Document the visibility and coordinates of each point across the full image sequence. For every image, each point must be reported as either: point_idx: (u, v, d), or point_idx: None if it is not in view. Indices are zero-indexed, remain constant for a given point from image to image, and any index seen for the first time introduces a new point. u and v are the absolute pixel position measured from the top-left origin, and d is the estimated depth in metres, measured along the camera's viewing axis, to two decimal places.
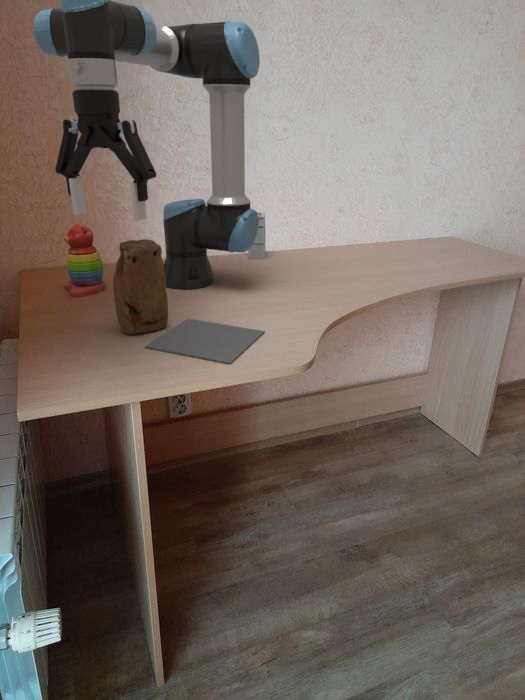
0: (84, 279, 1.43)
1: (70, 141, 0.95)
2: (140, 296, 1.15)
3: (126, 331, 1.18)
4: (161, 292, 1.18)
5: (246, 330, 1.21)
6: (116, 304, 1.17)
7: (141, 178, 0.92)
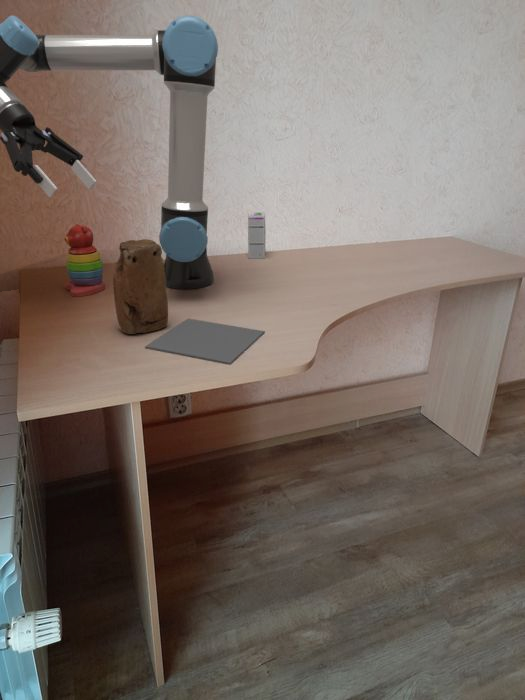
0: (84, 279, 1.43)
1: None
2: (140, 296, 1.15)
3: (126, 331, 1.18)
4: (161, 292, 1.18)
5: (246, 330, 1.21)
6: (116, 304, 1.17)
7: None
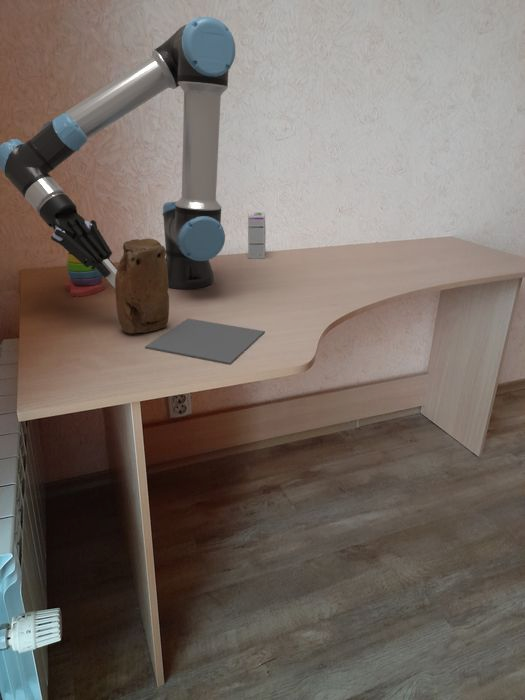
0: (84, 279, 1.43)
1: (91, 236, 1.22)
2: (142, 297, 1.14)
3: (126, 330, 1.18)
4: (163, 293, 1.17)
5: (246, 330, 1.21)
6: (117, 303, 1.17)
7: (94, 266, 1.18)
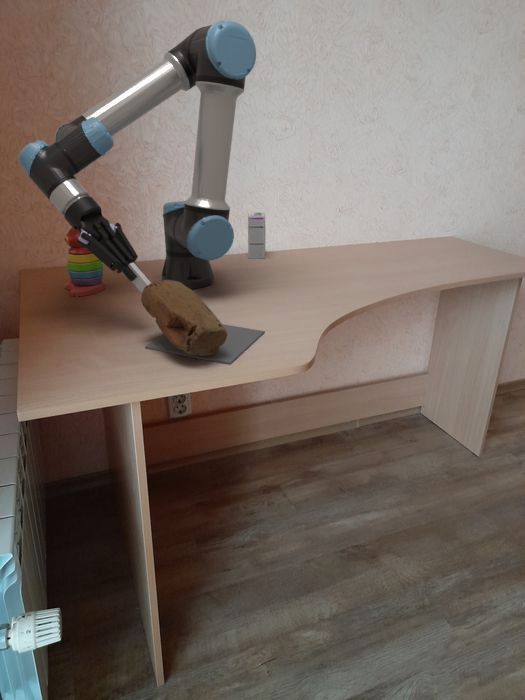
0: (84, 279, 1.43)
1: (116, 239, 1.20)
2: None
3: (141, 298, 1.12)
4: None
5: (246, 330, 1.21)
6: (155, 301, 1.08)
7: (120, 269, 1.15)
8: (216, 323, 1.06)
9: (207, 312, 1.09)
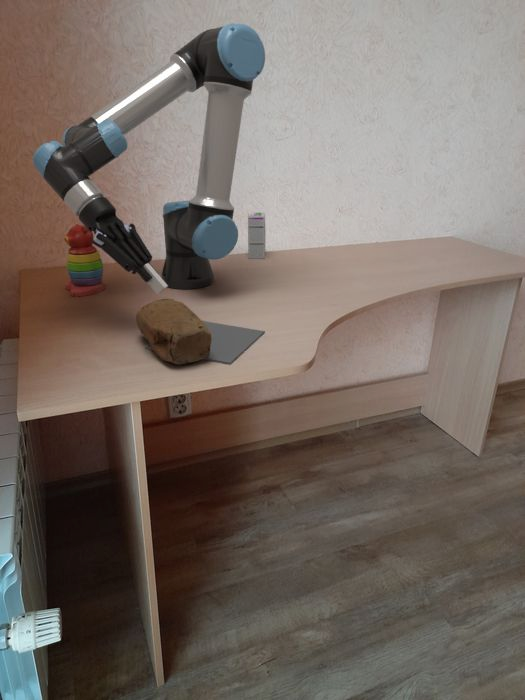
0: (84, 279, 1.43)
1: None
2: None
3: None
4: None
5: (246, 330, 1.21)
6: (142, 323, 1.10)
7: (135, 270, 1.15)
8: (196, 326, 1.04)
9: (190, 318, 1.08)
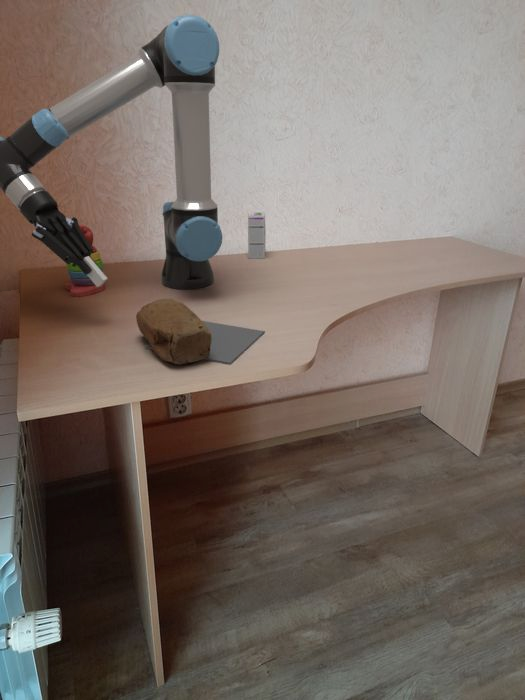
0: (84, 279, 1.43)
1: (73, 233, 1.22)
2: None
3: None
4: None
5: (246, 330, 1.21)
6: (142, 323, 1.10)
7: (75, 263, 1.18)
8: (196, 326, 1.04)
9: (190, 318, 1.08)
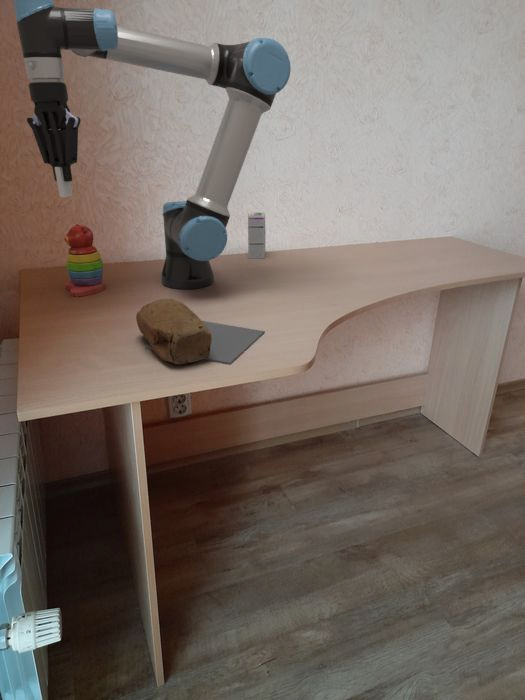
0: (84, 279, 1.43)
1: (40, 132, 1.17)
2: None
3: None
4: None
5: (246, 330, 1.21)
6: (142, 323, 1.10)
7: (65, 165, 1.18)
8: (196, 326, 1.04)
9: (190, 318, 1.08)
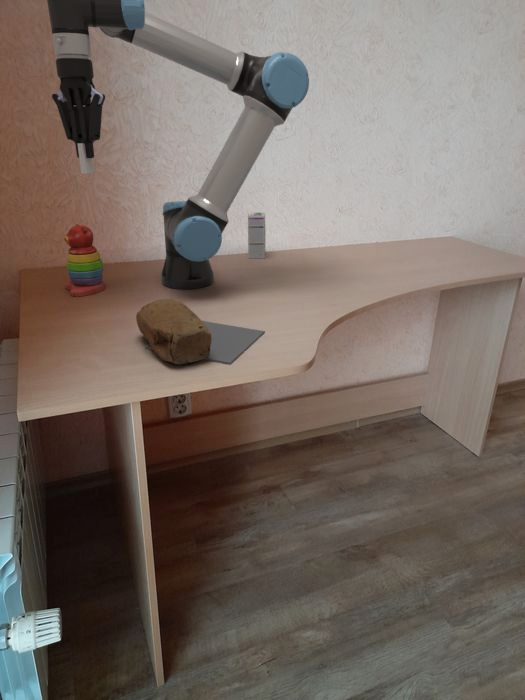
0: (84, 279, 1.43)
1: (64, 108, 1.19)
2: None
3: None
4: None
5: (246, 330, 1.21)
6: (142, 323, 1.10)
7: (88, 142, 1.20)
8: (196, 326, 1.04)
9: (190, 318, 1.08)
